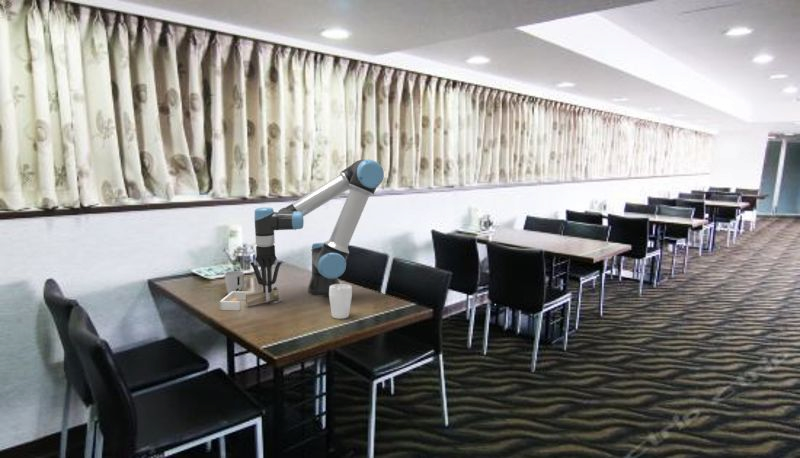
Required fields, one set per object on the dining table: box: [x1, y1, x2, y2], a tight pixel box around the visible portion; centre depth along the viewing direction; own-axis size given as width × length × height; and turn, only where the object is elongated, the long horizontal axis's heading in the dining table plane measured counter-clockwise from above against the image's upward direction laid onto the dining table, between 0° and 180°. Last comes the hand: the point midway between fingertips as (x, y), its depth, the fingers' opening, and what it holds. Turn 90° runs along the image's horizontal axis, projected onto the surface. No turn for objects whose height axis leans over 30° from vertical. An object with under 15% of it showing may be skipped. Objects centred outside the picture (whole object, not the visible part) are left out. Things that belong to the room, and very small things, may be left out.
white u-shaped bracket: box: [218, 291, 251, 312], centre depth 193 cm, size 8×15×4 cm, turn 1°
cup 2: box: [328, 283, 353, 320], centre depth 182 cm, size 9×9×12 cm
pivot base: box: [267, 297, 283, 304], centre depth 199 cm, size 6×6×1 cm
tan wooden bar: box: [245, 286, 280, 307], centre depth 195 cm, size 3×14×5 cm, turn 135°
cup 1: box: [224, 270, 245, 295], centre depth 206 cm, size 8×8×10 cm
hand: (267, 300), depth 194 cm, fingers closed
